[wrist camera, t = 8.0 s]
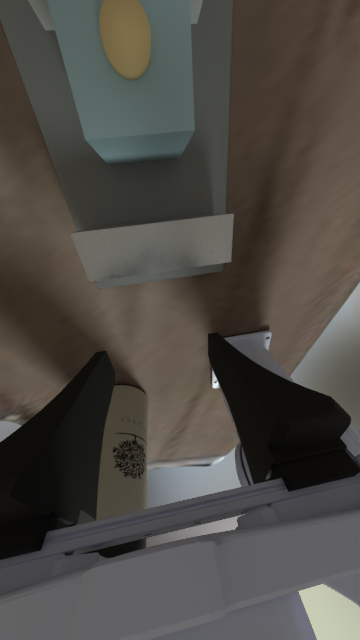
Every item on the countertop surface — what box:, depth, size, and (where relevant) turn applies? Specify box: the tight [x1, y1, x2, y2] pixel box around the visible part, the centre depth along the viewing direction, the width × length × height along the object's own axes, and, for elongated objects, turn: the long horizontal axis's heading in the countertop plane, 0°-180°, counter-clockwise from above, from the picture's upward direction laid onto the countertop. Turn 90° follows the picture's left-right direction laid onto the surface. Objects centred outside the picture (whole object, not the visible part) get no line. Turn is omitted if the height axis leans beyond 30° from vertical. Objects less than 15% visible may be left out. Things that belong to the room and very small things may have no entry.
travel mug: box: [77, 385, 148, 558], centre depth 19 cm, size 8×8×18 cm
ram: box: [70, 213, 234, 282], centre depth 13 cm, size 3×10×4 cm, turn 95°
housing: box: [47, 0, 195, 165], centre depth 9 cm, size 5×5×5 cm
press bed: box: [0, 0, 233, 289], centre depth 11 cm, size 18×12×5 cm, turn 5°
